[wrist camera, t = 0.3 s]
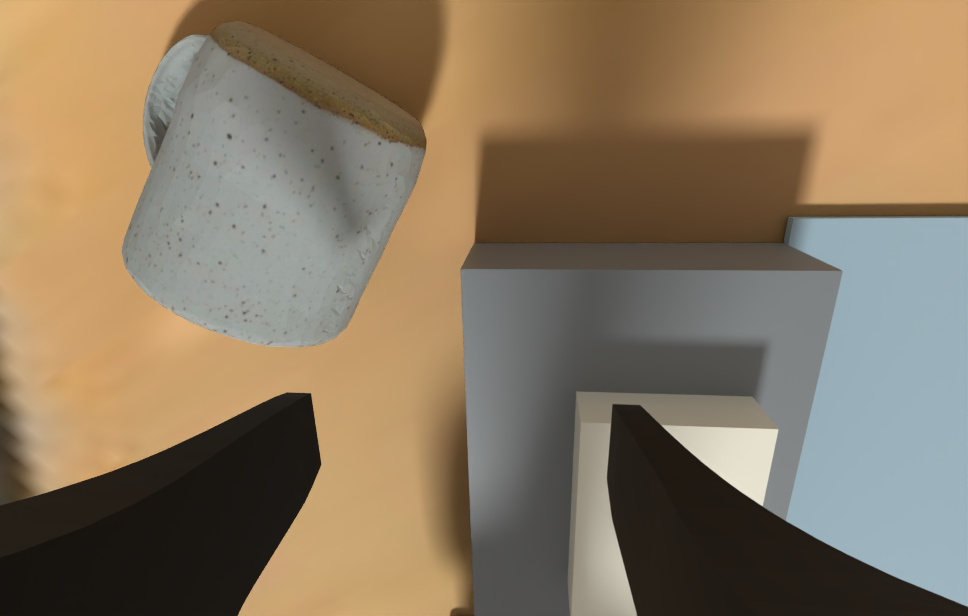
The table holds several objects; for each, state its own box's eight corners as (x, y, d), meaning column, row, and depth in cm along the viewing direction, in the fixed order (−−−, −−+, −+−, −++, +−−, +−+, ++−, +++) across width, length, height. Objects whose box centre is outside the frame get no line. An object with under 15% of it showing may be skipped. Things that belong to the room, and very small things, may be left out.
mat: (993, 625, 24) (1000, 633, 24) (716, 606, 26) (719, 613, 25) (1177, 214, 18) (1190, 216, 17) (788, 216, 19) (793, 218, 19)
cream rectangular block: (717, 591, 20) (735, 638, 18) (567, 581, 21) (570, 626, 19) (752, 396, 17) (778, 429, 15) (576, 391, 18) (580, 422, 16)
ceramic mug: (458, 130, 19) (406, 129, 12) (373, 304, 22) (289, 389, 15) (206, -16, 18) (-13, -111, 11) (151, 183, 21) (-51, 210, 14)
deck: (719, 592, 25) (750, 672, 22) (484, 576, 27) (475, 650, 23) (783, 242, 19) (842, 270, 16) (474, 243, 20) (460, 269, 17)
